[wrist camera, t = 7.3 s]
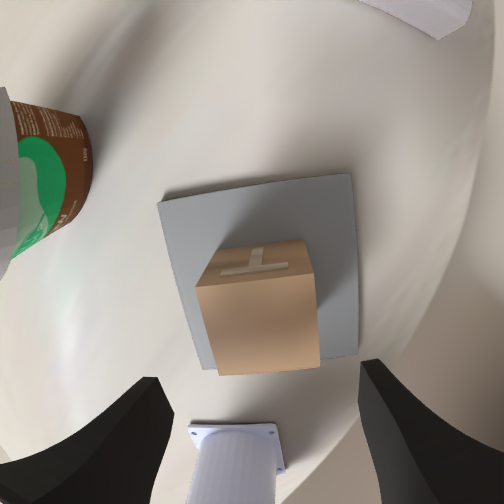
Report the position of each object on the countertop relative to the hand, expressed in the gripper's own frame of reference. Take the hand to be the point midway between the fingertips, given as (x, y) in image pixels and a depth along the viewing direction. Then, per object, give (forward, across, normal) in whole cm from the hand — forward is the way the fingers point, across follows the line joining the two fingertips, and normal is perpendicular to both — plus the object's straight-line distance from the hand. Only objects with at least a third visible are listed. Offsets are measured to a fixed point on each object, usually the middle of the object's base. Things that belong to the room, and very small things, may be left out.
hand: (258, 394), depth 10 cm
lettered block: (+9, 0, 0) cm, 9 cm away
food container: (+10, +13, -8) cm, 18 cm away
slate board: (+9, 0, 0) cm, 9 cm away
